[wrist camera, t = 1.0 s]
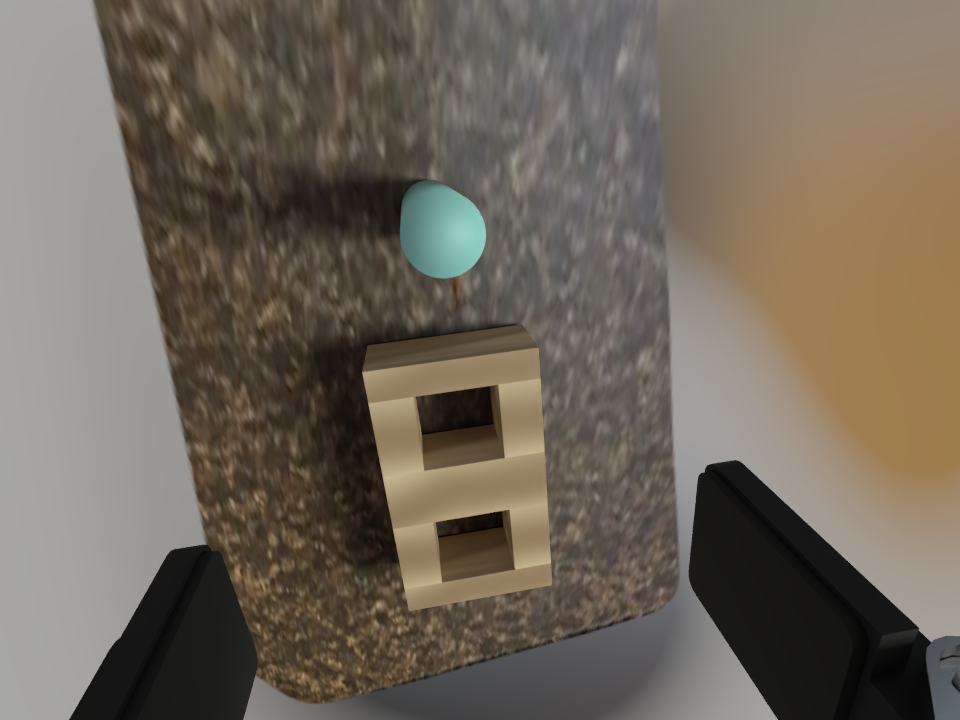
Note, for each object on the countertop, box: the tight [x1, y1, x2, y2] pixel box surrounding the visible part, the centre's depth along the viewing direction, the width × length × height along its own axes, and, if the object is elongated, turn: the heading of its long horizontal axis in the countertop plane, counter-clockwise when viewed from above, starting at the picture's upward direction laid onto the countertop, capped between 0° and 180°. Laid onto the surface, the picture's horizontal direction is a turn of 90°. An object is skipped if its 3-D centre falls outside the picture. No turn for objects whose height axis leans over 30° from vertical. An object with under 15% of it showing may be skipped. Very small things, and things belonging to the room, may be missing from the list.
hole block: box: [362, 325, 552, 611], centre depth 31 cm, size 16×9×4 cm, turn 5°
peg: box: [400, 180, 486, 278], centre depth 23 cm, size 3×3×10 cm
